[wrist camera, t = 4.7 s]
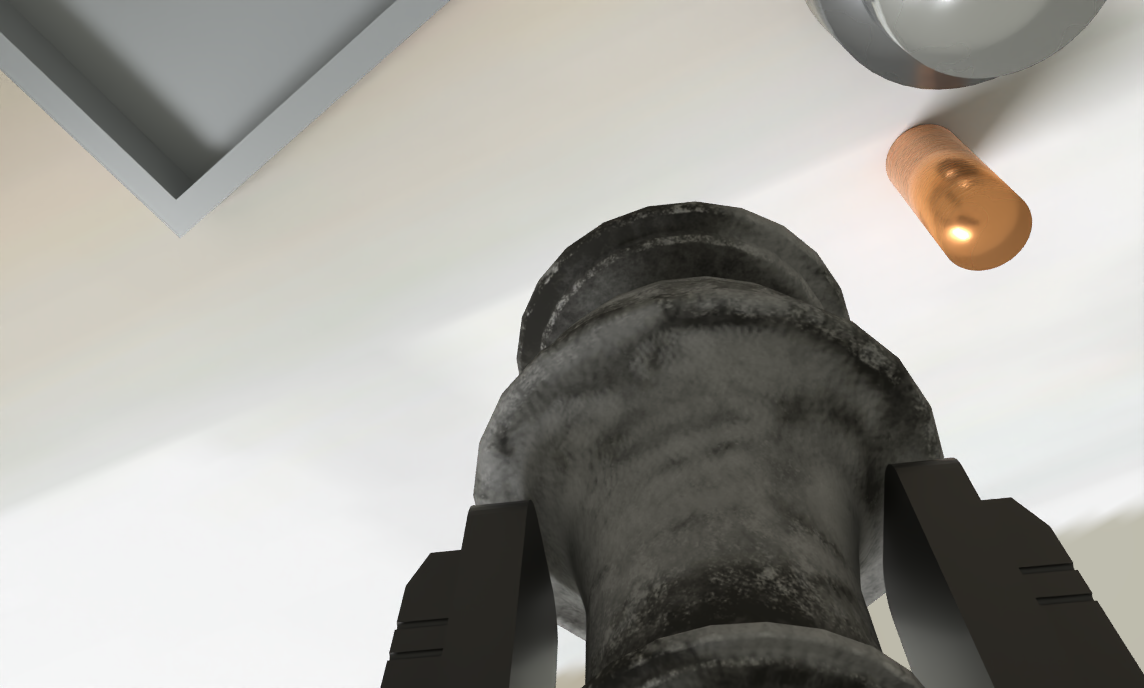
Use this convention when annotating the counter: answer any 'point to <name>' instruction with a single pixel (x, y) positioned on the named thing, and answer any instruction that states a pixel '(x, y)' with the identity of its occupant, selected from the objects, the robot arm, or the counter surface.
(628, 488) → the dark grey turned piece
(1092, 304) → the counter surface
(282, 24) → the tray
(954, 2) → the crank
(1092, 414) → the counter surface
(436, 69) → the counter surface
